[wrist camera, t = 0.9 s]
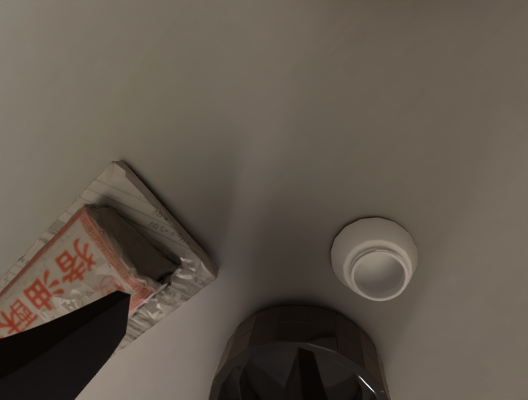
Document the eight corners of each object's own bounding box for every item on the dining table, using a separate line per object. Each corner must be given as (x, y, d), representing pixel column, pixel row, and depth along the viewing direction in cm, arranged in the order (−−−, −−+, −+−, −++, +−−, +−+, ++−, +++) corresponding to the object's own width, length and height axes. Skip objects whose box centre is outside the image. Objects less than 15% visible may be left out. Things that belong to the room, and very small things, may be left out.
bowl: (402, 412, 24) (419, 475, 20) (262, 437, 27) (251, 495, 23) (349, 280, 22) (356, 321, 18) (202, 322, 24) (179, 366, 20)
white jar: (415, 286, 21) (411, 211, 20) (430, 314, 18) (427, 229, 17) (335, 290, 22) (326, 220, 21) (337, 318, 19) (327, 238, 18)
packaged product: (29, 434, 24) (-78, 336, 22) (76, 380, 28) (-11, 296, 27) (201, 308, 18) (71, 170, 17) (225, 266, 23) (124, 155, 22)
